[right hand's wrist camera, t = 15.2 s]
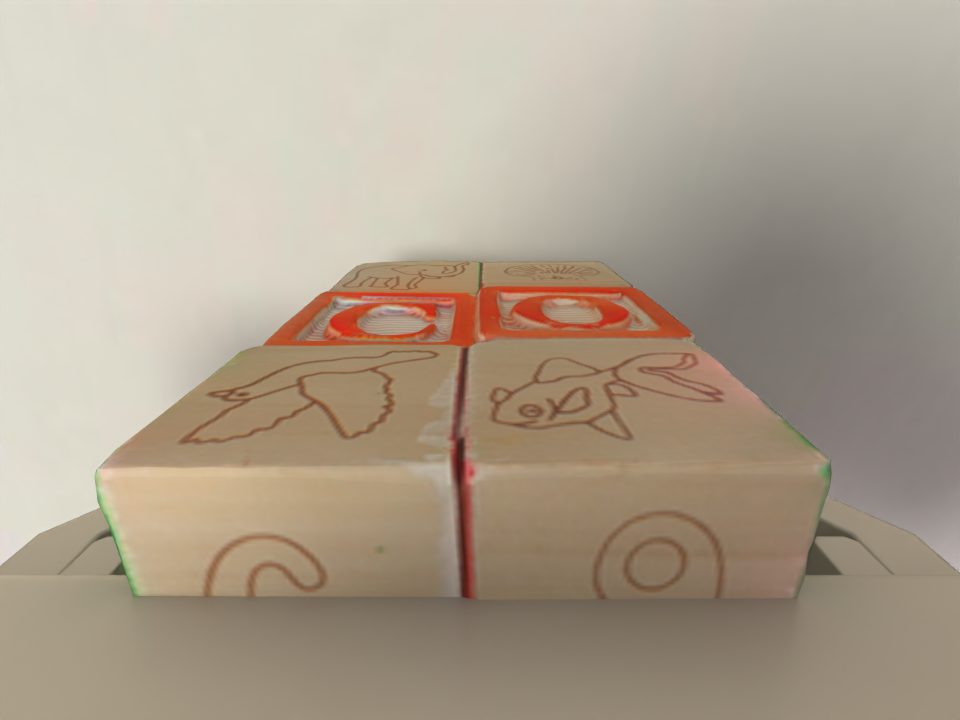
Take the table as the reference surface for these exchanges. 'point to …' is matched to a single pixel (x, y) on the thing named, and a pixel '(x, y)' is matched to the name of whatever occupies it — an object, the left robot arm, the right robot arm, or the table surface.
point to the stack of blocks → (469, 453)
